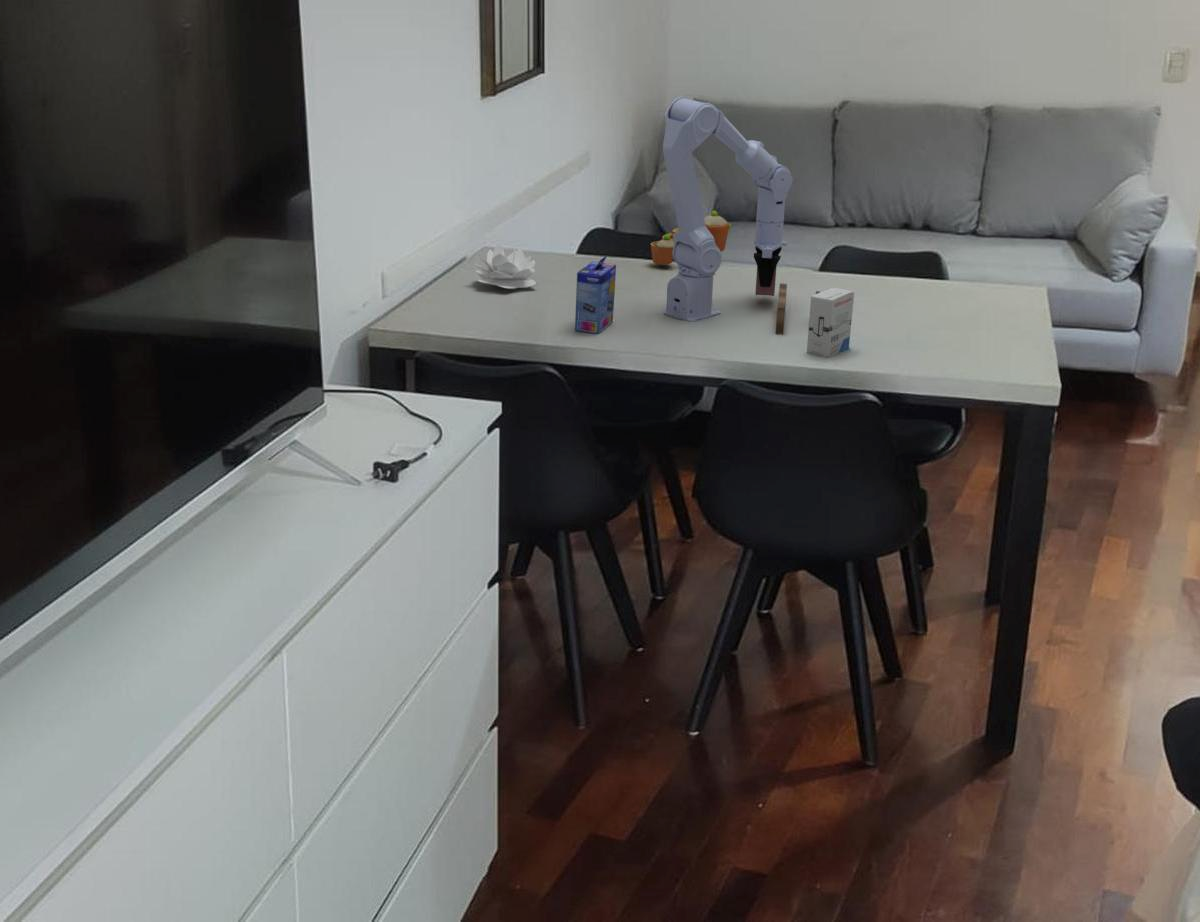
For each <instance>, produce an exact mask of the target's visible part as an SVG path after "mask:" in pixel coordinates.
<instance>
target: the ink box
mask: <svg viewBox="0 0 1200 922" xmlns="http://www.w3.org/2000/svg"><path fill="white" fill-rule="evenodd" d="M854 297H855V292H854V291H852V290H847V289H843V288H837V287H831V288H829V289H827V290H824V291H820V293H818V294H816V293H815V294H813V295H811V296H810V306H809V307H810V309H809V320H808V332H807V345H806V346H807V347H806V353H807V354H811V355H816V356H820V357H823V358H829V357H832V356H834V355H836V354H839V353H841V352H844V351H846V350H848V349H849V348H850V343H851V342H850V340H851V331H852V319H853V310H854V299H855V298H854Z"/></svg>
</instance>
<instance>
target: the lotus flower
mask: <svg viewBox="0 0 1200 922" xmlns="http://www.w3.org/2000/svg"><path fill="white" fill-rule="evenodd" d="M516 249H517V247H516V244H514V248H513V252H512V253H510V254H509V255H507V256H506V254H505V250H504V247H503V246H502V245H501V244H499V243H498V242H497V243H496V245H495V246H494V249H493V250H491V249H488V251H487V253H486V259H485V258H484V257H483V256H482V255H479V257H480V260H482V262H483V263H484V265H485V266H486V268H487V269H486V268H484V267H483V266H481V265H479V264H478V263H473V264H474V265H475V266H476V267H478V270H477V269H476V270H475V273H476V274H477V275H478V276H479V277H480V278H481V279H480V278H479V279H477V282H479V283H482V284H487V285H493V286H497V287H499V288H504V289H508V290H513V289H514V290H515V289H518V288H520V289H526V288H531V287H534V286H537V283H536V281H535V280H533V279H531V278H530V277H531V276H532V275H533V274H535V272H536V271H535V270H536V269H535V266H536V260H531V258H532V255H528V256H525V254H524V252H523V251H522V249H517V250H516ZM479 269H480V270H479Z"/></svg>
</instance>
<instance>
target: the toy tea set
mask: <svg viewBox="0 0 1200 922" xmlns="http://www.w3.org/2000/svg"><path fill="white" fill-rule="evenodd" d="M704 221H705V226H706V227H707V229H708V230H709V231H710V233H711V234H712V235H713V237H714V239H715V244H716V246H717V247H718V248H719V249H720V251H721V253H722V252H724V251H725V250H726V249H725V248H726V244H727V239H728V234H729V230H731V229H732V224H731V223H729V222H728V221H727V220H726V219H725V218H724V217H722V216H720V215H718V212H717V210H712V211H711V214H710V215H707V216H705V217H704ZM678 230H679V228H678V227H676V228H673V229H672V231H671V232H669V233H665V234H663V236H661V240H657V241H653V242H651V243H650V248H651V249H650V250H651V260H652V263H654V264H656V265H660V266H662V265H663V266H665V265H666V266H667V265H671V264H672V263H673V261H674V258H673V247H674V239H673V236H674V234H675V233H676V232H677V231H678Z"/></svg>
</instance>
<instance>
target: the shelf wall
mask: <svg viewBox="0 0 1200 922" xmlns="http://www.w3.org/2000/svg"><path fill="white" fill-rule="evenodd" d="M787 289H788V284H787V283H782V282H781V283H779V289H778V297H777V298H778V299H777V309H776V323H775V335H784V329H785V317H786V315H785V314H786V305H787V303H786V302H787V291H788V290H787Z"/></svg>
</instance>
